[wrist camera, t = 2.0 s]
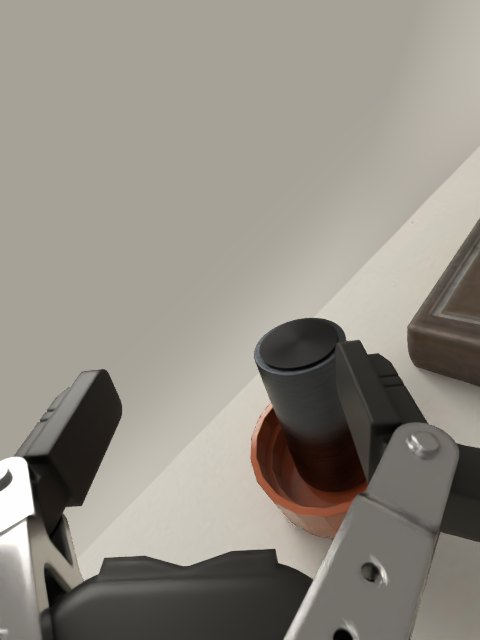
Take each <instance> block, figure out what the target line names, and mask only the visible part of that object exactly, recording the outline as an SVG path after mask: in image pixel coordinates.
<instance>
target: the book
mask: <svg viewBox="0 0 480 640" xmlns="http://www.w3.org/2000/svg"><path fill="white" fill-rule="evenodd" d="M407 342H408V351H409V355H410V358H411V360H412V362H413V364H414V365H415V366H417V367H420V368H423V369H427V370H430V371H433V372H436V373H440V374H443V375H446V376H449V377H452V378H456V379H459V380H462V381H465V382H469V383H472V384H475V385H478V386H480V219H479V220H478V222H477V223H476V225H475V226H474V228H473V229H472V231H471V232H470V234H469V235H468V237H467V238H466V240H465V241H464V243H463V244H462V246H461V247H460V249H459V250H458V252H457V253H456V255H455V256H454V258H453V259H452V261H451V262H450V264H449V265H448V267H447V268H446V270H445V271H444V273H443V274H442V276H441V277H440V279H439V280H438V282H437V283H436V285H435V286H434V288H433V289H432V291H431V292H430V294H429V295H428V297H427V298H426V300H425V301H424V303H423V304H422V306H421V307H420V309H419V310H418V312H417V313H416V315H415V316H414V318H413V319H412V321H411V322H410V324H409V325H408V331H407Z"/></svg>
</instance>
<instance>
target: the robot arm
mask: <svg viewBox="0 0 480 640" xmlns="http://www.w3.org/2000/svg"><path fill="white" fill-rule="evenodd" d="M335 354H336V385H337V391H338V395H339V399H340V402H341V405H342V408H343V411H344V414H345V417H346V420H347V423H348V426H349V429H350V432H351V435H352V438H353V441H354V444H355V447H356V450H357V453H358V456H359V459H360V462H361V465H362V468H363V471H364V474H365V477H366V480H367V483H368V487H367V489H366V491H365V492H364V493H361V492H360V493H358V494H357V496H356V497H355V498H354V500H353V502H352V504H351V506H350V508H349V510H348V512H347V514H346V516H345V518H344V520H343V522H342V524H341V526H340V528H339V530H338V532H337V534H336V536H335V538H334V540H333V542H332V544H331V546H330V548H329V550H328V552H327V554H326V556H325V558H324V560H323V562H322V564H321V566H320V568H319V570H318V572H317V574H316V576H315V578H314V580H313V579H311V578H310V577H308V576H307V575H305V574H303V573H302V572H300V571H298V570H296V569H294V568H291V567H289V566H286V565H283V564H279V563H278V561H277V556H276V550H275V549H265V550H246V551H231V552H228V553H225V554H222V555H219V556H217V557H214V558H211V559H208V560H205V561H202V562H199V563H196V564H193V565H191V566H179V565H176V564H172V563H169V562H165V561H161V560H158V559H154V558H151V557H147V556H133V557H114V558H104V561H103V564H102V567H101V569H100V572H99V574H98V575H96V576H94V577H92V578H90V579H87V580H85V581H84V580H83V578H82V576H81V573H80V570H79V566H78V562H77V558H76V554H75V549H74V545H73V541H72V537H71V533H70V529H69V525H68V521H67V518H66V517H65V515H64V514H63V511H64V509H65V507H72V506H82V504H83V502H84V500H85V497H86V495H87V493H88V491H89V488H90V486H91V484H92V482H93V480H94V477H95V475H96V473H97V471H98V469H99V466H100V464H101V462H102V459H103V457H104V455H105V453H106V451H107V448H108V446H109V444H110V442H111V439H112V437H113V435H114V433H115V430H116V428H117V426H118V424H119V421H120V419H121V416H122V404H121V400H120V398H119V396H118V394H117V391H116V389H115V387H114V384H113V382H112V380H111V378H110V375H109V373H108V372H107V371H106V370H104V369H101V370H92V371H84V372H81V373H80V375H79V376H78V377H77V379H76V380H75V382H74V383H73V384H72V386H71V387H68V388H67V389H66V390H65V391H64V392H62V393H61V394H60V395H59V396H58V397H56V398H55V400H54V401H53V402H52V404H51V405H50V407H49V408H48V409H47V412H46V413H45V414H44V415H43V416H42V418H41V419H40V422H38V423H37V425H36V426H35V428H34V429H33V430H32V432H31V433H30V434H29V436H28V437H27V439H26V440H25V441H24V443H23V444H22V445H21V447H20V448H19V450H18V451H17V452H16V454H15V455H14V456H13V457H12V458H8V459H5V460H2V461H0V640H411V637H412V634H413V630H414V626H415V623H416V619H417V615H418V611H419V608H420V604H421V600H422V596H423V593H424V589H425V586H426V582H427V578H428V575H429V571H430V567H431V564H432V560H433V557H434V553H435V549H436V546H437V542H438V539H439V535H440V532H443V533H446V534H450V535H454V536H458V537H462V538H465V539H469V540H473V541H477V542H480V448H475V447H469V446H464V445H460V444H457V443H455V441H454V440H453V439H452V438H451V437H450V436H449V435H448V434H447V433H446V432H444V431H443V430H441V429H439V428H437V427H435V426H432V425H429V424H428V423H427V421H426V420H425V418H424V416H423V415H422V413H421V411H420V410H419V408H418V406H417V405H416V403H415V401H414V400H413V398H412V396H411V395H410V393H409V391H408V390H407V388H406V386H404V383H403V382H402V380H401V378H400V377H399V376H398V373H397V372H396V370H395V368H394V367H393V365H392V363H391V362H390V361H388V360H387V359H386V358H384V357H383V356H381V355H380V354H379V353H377V354H368V355H367V353H366V351H365V349H364V347H363V345H362V343H361V341H360V340H355V341H346V342H337V343H336V346H335Z"/></svg>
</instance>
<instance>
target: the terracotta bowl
mask: <svg viewBox="0 0 480 640" xmlns="http://www.w3.org/2000/svg"><path fill="white" fill-rule="evenodd" d="M251 463H252V466H253V470H254V473H255V476H256V479H257V482H258V483H259V485H260V486H261V487H262V488H263V490H264V491H265V492H266V493H267V495H268V496H269V497H270V498H271V500H272V501H273V502H274V503H275V504H276V505H277V506H278V508H279V509H280V510H281V511H282V512H283V513H284V514H285V515H286V516H287V517H288V519H289V520H290V521H291V522H292V523H294V524H295V525H297V526H299V527H301V528H302V529H304V530H306V531H307V532H309V533H311V534H313V535H315V536H321V537H328V538H335V536H336V534H337V532H338V530H339V528H340V526H341V524H342V522H343V520H344V518H345V516H346V514H347V512H348V510H349V508H350V506H351V504H352V502H353V500H354V498H355V497H356V496H357V494H358V493H360V492H361V493H364V492H365V491H366V489H367V487H368V483H367V480H366V477H364V478H363V479H362V480H361V482H359V483H358V484H357V485H356V486H354V487H352V488H350V489H348V490H345V491H341V492H325V491H320V490H318V489H315V488H313V487H311V486H310V485H308V484H307V483H306V482H305V481H304V480H303V479H302V478H301V477H300V475H299V473H298V471H297V469H296V466H295V464H294V461H293V459H292V456H291V453H290V451H289V448H288V445H287V443H286V440H285V438H284V435H283V432H282V430H281V427H280V425H279V422H278V419H277V417H276V414H275V411H274V409H273V406H272V404H271V403H270V404H269V406H268V407H267V408H266V409H265V411H264V412H263V413H262V414H261V416H260V417H259V419H258V422H257V425H256V427H255V430H254V432H253V435H252V439H251Z"/></svg>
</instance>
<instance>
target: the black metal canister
mask: <svg viewBox="0 0 480 640" xmlns="http://www.w3.org/2000/svg"><path fill="white" fill-rule="evenodd" d="M337 342H346V337H345V333H344V331H343V330H342V328H341V327H340V326H339V325H337V324H336V323H334V322H332V321H329V320H326V319H320V318H304V319H298V320H293V321H290V322H287V323H284V324H282V325H280V326H277V327H276V328H274V329H272V330H271V331H269V332H268V333H267V334H265V335H264V336H263V337H262V338H261V339H260V341H259V342H258V344H257V345H256V348H255V351H254V358H255V362H256V364H257V367H258V370H259V372H260V375H261V378H262V380H263V383H264V385H265V388H266V391H267V393H268V396H269V398H270V401H271V404H272V406H273V409H274V411H275V414H276V417H277V419H278V422H279V425H280V427H281V430H282V432H283V435H284V438H285V440H286V443H287V445H288V448H289V451H290V453H291V456H292V459H293V461H294V464H295V466H296V469H297V471H298V473H299V475H300V477H301V478H302V479H303V480H304V481H305V482H306V483H307V484H308V485H310V486H311V487H313V488H315V489H318V490H320V491H325V492H341V491H345V490H348V489H350V488H352V487H354V486H356V485H357V484H358V483H359V482H361V480H362V479H363V478H364V477H365V474H364V471H363V468H362V465H361V462H360V459H359V456H358V453H357V450H356V447H355V444H354V441H353V438H352V435H351V432H350V429H349V426H348V423H347V420H346V417H345V414H344V411H343V408H342V405H341V402H340V399H339V395H338V391H337V385H336V354H335V346H336V343H337Z"/></svg>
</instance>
